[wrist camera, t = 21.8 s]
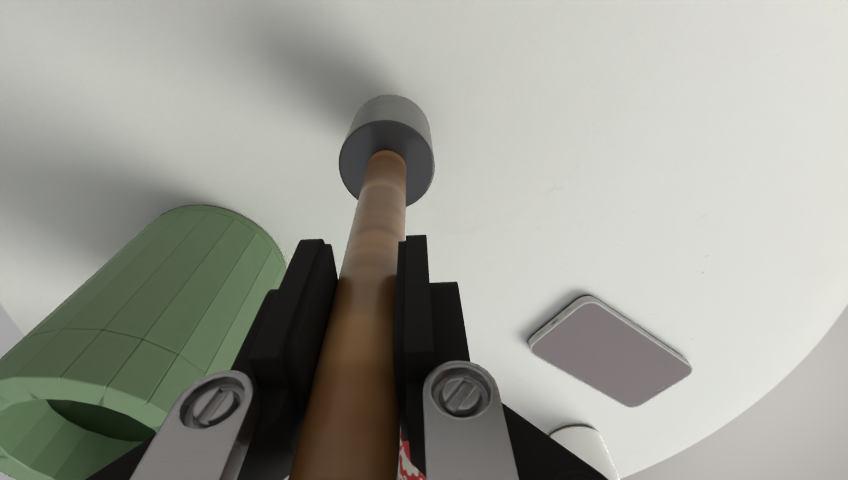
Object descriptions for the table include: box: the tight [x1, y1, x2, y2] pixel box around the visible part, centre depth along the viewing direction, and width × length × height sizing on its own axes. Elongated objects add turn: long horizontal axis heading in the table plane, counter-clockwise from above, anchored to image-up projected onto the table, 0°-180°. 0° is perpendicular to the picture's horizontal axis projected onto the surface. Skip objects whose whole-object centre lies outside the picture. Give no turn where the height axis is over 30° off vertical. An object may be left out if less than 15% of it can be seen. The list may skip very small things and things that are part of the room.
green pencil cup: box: [0, 205, 286, 480], centre depth 23 cm, size 10×10×14 cm
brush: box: [288, 95, 435, 480], centre depth 14 cm, size 4×4×19 cm
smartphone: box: [528, 296, 693, 408], centre depth 35 cm, size 7×1×15 cm
